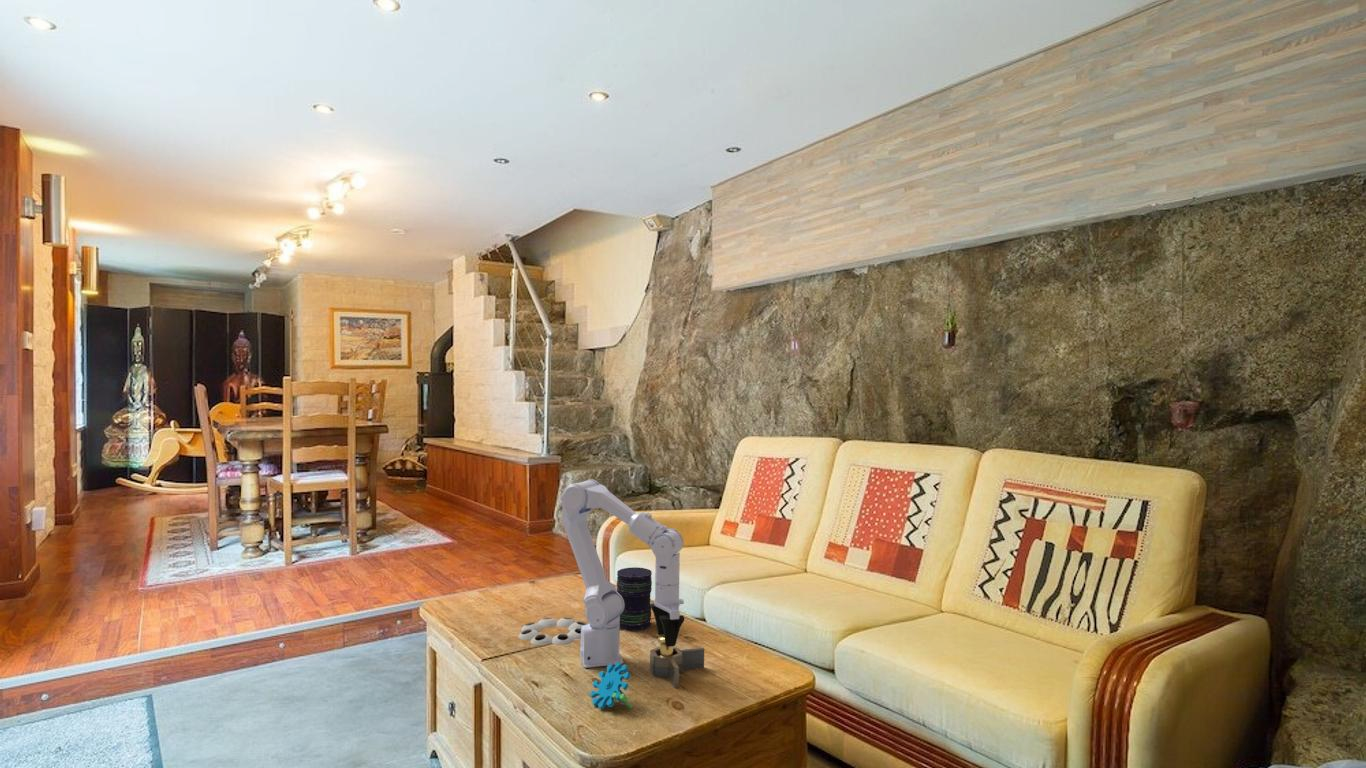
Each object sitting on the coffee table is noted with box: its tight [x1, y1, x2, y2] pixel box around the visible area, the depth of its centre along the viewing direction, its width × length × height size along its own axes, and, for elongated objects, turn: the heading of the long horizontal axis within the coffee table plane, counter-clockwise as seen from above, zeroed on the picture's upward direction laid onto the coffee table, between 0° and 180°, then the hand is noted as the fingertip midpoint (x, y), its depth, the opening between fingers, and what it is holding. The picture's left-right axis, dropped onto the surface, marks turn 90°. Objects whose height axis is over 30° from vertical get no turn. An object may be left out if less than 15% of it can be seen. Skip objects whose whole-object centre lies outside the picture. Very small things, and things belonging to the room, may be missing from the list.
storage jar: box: [616, 567, 653, 632], centre depth 192 cm, size 10×10×15 cm
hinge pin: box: [657, 634, 674, 657], centre depth 162 cm, size 4×4×8 cm
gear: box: [589, 662, 633, 710], centre depth 146 cm, size 11×6×10 cm
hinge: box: [649, 646, 705, 689], centre depth 160 cm, size 13×13×4 cm
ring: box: [517, 617, 588, 646], centre depth 186 cm, size 20×20×2 cm
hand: (666, 639), depth 162 cm, fingers open, 7 cm apart
